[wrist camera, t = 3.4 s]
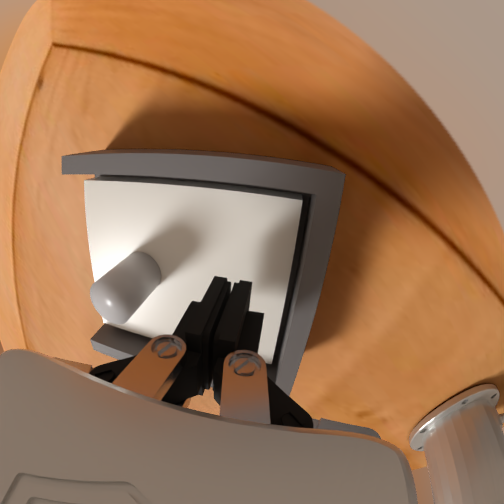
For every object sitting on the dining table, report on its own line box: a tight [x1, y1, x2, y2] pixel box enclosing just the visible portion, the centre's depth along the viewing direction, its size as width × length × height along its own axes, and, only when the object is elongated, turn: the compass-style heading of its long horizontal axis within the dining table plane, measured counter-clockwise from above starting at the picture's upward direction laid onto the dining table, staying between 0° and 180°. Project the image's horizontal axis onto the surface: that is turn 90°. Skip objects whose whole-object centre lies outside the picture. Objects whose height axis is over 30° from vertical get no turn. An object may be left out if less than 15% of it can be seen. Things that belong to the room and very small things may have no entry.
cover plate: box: [84, 176, 303, 364], centre depth 13 cm, size 12×10×5 cm
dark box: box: [62, 149, 346, 396], centre depth 15 cm, size 14×13×4 cm
